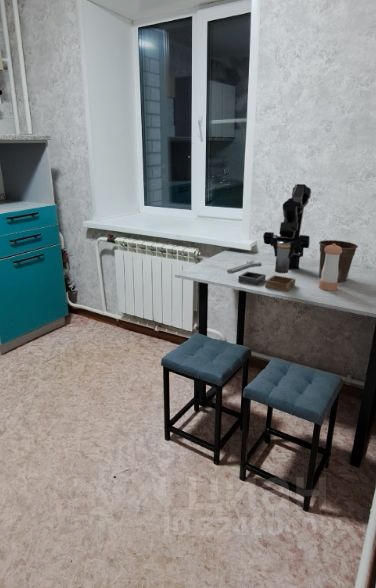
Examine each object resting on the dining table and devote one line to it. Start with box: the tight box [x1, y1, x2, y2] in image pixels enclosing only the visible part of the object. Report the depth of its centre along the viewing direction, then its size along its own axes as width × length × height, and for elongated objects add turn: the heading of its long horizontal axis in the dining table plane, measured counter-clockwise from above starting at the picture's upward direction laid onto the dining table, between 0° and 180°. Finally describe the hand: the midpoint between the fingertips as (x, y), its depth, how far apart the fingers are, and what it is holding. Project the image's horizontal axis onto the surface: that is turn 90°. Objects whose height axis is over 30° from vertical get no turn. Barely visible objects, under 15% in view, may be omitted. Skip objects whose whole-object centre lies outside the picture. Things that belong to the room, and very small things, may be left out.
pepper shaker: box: [318, 244, 342, 292], centre depth 166 cm, size 7×7×19 cm
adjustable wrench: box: [226, 260, 262, 274], centre depth 197 cm, size 25×6×2 cm, turn 133°
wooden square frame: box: [264, 274, 296, 292], centre depth 169 cm, size 10×10×3 cm
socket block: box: [238, 271, 267, 286], centre depth 176 cm, size 9×9×2 cm
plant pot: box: [318, 239, 359, 283], centre depth 180 cm, size 16×16×16 cm
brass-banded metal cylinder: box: [274, 241, 291, 274], centre depth 166 cm, size 6×6×12 cm
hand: (282, 256), depth 164 cm, fingers closed on brass-banded metal cylinder, 5 cm apart
